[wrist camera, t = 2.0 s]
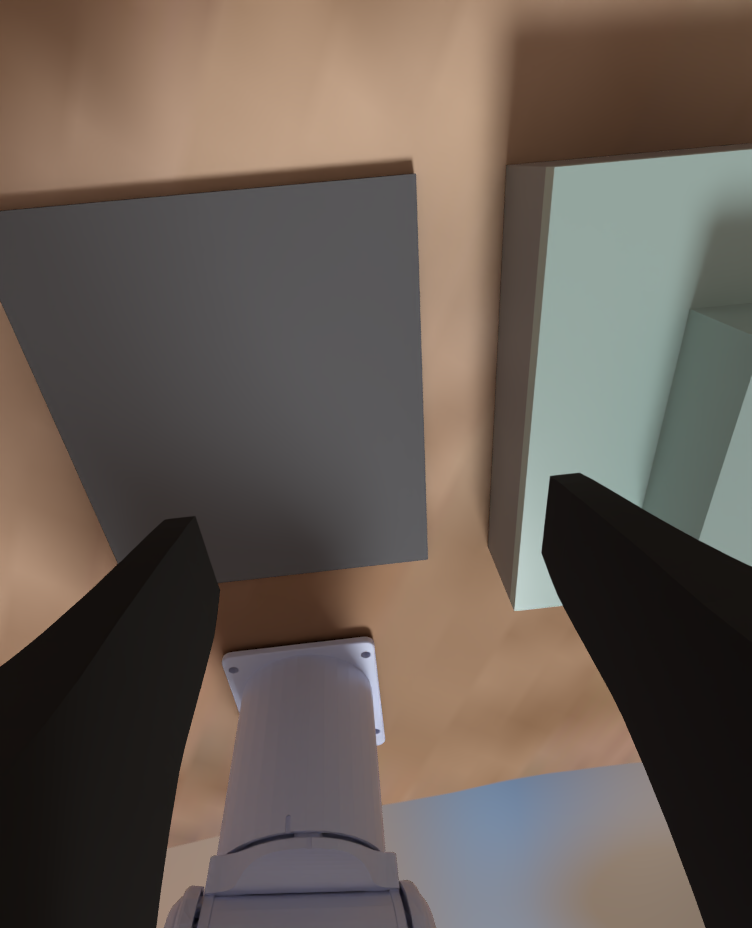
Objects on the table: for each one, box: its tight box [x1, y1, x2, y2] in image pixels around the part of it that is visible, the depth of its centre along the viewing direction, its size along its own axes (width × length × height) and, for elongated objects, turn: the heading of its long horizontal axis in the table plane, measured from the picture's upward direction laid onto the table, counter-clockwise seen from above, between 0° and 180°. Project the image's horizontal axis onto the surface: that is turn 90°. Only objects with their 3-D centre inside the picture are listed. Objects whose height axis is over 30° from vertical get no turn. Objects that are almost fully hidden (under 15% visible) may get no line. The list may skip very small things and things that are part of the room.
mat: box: [0, 174, 428, 583], centre depth 20 cm, size 16×14×1 cm
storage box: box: [488, 143, 752, 599], centre depth 19 cm, size 16×12×4 cm
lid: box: [510, 148, 752, 611], centre depth 17 cm, size 16×12×4 cm
